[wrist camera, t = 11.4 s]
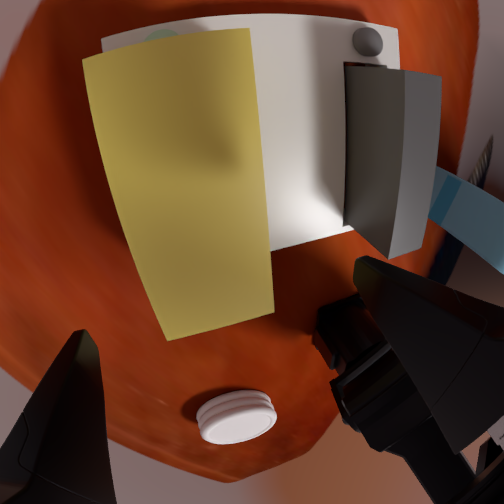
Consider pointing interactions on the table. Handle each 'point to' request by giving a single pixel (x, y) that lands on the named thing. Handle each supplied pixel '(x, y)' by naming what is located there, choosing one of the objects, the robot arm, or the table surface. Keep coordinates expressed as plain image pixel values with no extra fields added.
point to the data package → (469, 216)
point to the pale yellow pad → (187, 174)
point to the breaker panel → (296, 108)
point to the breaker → (391, 155)
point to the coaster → (236, 417)
